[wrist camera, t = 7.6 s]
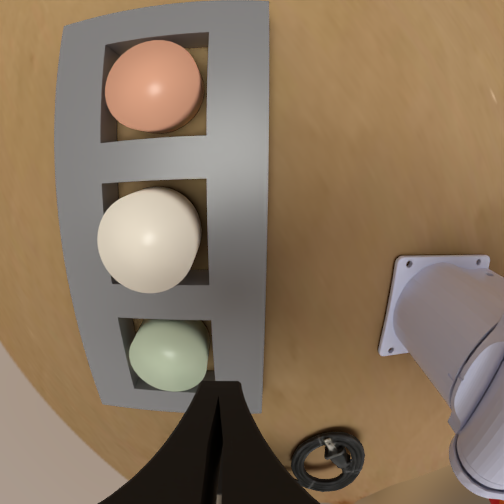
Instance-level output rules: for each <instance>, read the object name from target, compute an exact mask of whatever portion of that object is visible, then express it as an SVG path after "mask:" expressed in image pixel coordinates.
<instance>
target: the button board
mask: <svg viewBox="0 0 504 504" xmlns="http://www.w3.org/2000/svg"><path fill="white" fill-rule="evenodd" d="M152 40H165V41H170V42H173V43H176V44H178V45H180V46H181V47H183V48H196V47H208V76H207V136H181V137H163V138H149V139H137V140H126V141H117V120H116V119H115V117H114V116H113V115H112V114H111V112H110V110H109V108H108V106H107V103H106V98H105V86H106V81H107V77H108V74H109V72H110V70H111V68H112V66H113V65H114V63H115V62H116V61H117V60H118V58H119V57H120V56H121V55H122V54H124V53H125V52H126V51H127V50H129V49H130V48H132V47H134V46H136V45H138V44H140V43H143V42H146V41H152ZM54 151H55V179H56V194H57V206H58V216H59V225H60V233H61V241H62V248H63V254H64V261H65V266H66V272H67V278H68V283H69V288H70V293H71V297H72V302H73V307H74V311H75V315H76V319H77V323H78V327H79V331H80V335H81V339H82V342H83V346H84V349H85V353H86V356H87V359H88V363H89V366H90V369H91V372H92V375H93V378H94V381H95V384H96V387H97V390H98V393H99V396H100V398H101V401H102V404H105V405H112V406H119V407H127V408H135V409H145V410H155V411H168V412H184V413H185V412H186V410H187V409H188V407H189V405H190V403H191V401H192V399H193V397H194V395H195V393H196V391H197V388H198V386H199V384H198V385H196V386H195V387H193V388H191V389H188V390H185V391H178V392H172V391H165V390H161V389H158V388H155V387H153V386H151V385H149V384H148V383H146V382H145V381H144V380H142V379H141V378H140V377H139V376H138V375H137V373H136V372H135V371H134V369H133V367H132V365H131V362H130V358H129V350H130V346H131V344H132V342H133V340H134V338H135V336H136V335H135V329H134V324H133V318H140V319H168V320H211V325H212V341H213V357H214V371H206V374H205V376H204V378H203V380H202V381H239V382H240V383H241V386H242V391H243V394H244V398H245V401H246V403H247V406H248V408H249V411H250V413H251V414H253V413H262V389H263V362H264V333H265V300H266V262H267V216H268V153H269V1H254V0H220V1H199V2H186V3H175V4H166V5H158V6H151V7H145V8H138V9H133V10H127V11H122V12H117V13H112V14H108V15H104V16H99V17H95V18H91V19H88V20H84V21H80V22H77V23H73V24H70V25H67V26H64V29H63V35H62V41H61V48H60V56H59V64H58V74H57V85H56V100H55V127H54ZM205 178H207V227H208V260H209V270H189V272H188V273H187V275H186V276H185V277H184V278H183V280H182V281H181V282H179V283H178V284H177V285H176V286H174V287H173V288H170V289H168V290H166V291H163V292H159V293H141V292H137V291H134V290H131V289H129V288H127V287H125V286H123V285H122V284H120V283H119V282H118V281H116V280H115V279H114V278H113V277H112V276H111V275H110V273H109V272H108V271H107V269H106V268H105V266H104V264H103V262H102V260H101V257H100V254H99V250H98V243H97V236H98V229H99V225H100V222H101V219H102V217H103V215H104V214H105V212H106V211H107V209H108V208H109V207H110V206H111V205H112V204H113V203H114V202H116V201H117V200H119V196H118V182H131V181H149V180H171V179H205Z"/></svg>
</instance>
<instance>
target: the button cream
mask: <svg viewBox="0 0 504 504" xmlns="http://www.w3.org/2000/svg"><path fill="white" fill-rule="evenodd" d="M201 237H202V228H201V222H200V218H199V215H198V213H197V211H196V209H195V207H194V206H193V205H192V203H191V202H190V201H189V200H188V199H187V198H186V197H185V196H184V195H182V194H181V193H179V192H177V191H175V190H173V189H170V188H167V187H158V186H155V187H148V188H144V189H142V190H139V191H137V192H134V193H132V194H129V195H127V196H124V197H122V198H120V199H119V200H117V201H116V202H114V203H113V204H112V205H111V206H110V207H109V208H108V209H107V211H106V212H105V214H104V215H103V217H102V219H101V222H100V225H99V229H98V236H97V243H98V250H99V254H100V257H101V260H102V262H103V264H104V266H105V268H106V269H107V271H108V272H109V273H110V275H111V276H112V277H113V278H114V279H115V280H116V281H118V282H119V283H120V284H122V285H123V286H125V287H127V288H129V289H131V290H134V291H137V292H141V293H159V292H163V291H166V290H168V289H170V288H173V287H174V286H176V285H177V284H178V283H179V282H181V281H182V280H183V278H184V277H185V276H186V275H187V273H188V272H189V270H190V268H191V266H192V263H193V261H194V258H195V256H196V253H197V251H198V249H199V246H200V242H201Z"/></svg>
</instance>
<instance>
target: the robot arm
mask: <svg viewBox="0 0 504 504" xmlns="http://www.w3.org/2000/svg"><path fill="white" fill-rule="evenodd" d="M477 260H478V262H477ZM408 261H410V263H409V265H408V266H406V264H407V262H408ZM476 262H477V263H476ZM489 264H490V257H489V256H487V255H422V256H399V257H398V258H397V259H396V261H395V266H394V273H393V279H392V285H391V291H390V296H389V301H388V307H387V312H386V317H385V321H384V326H383V331H382V335H381V339H380V344H379V348H378V352H379V354H380V355H381V356H389V355H396V354H403V353H410V354H411V356H412V357H413V358H414V360H415V361H416V362H417V364H418V365H419V366H420V368H421V369H422V370H423V371H424V373H425V374H426V375H427V377H428V378H429V379H430V381H431V382H432V383H433V385H434V386H435V388H436V389H437V390H438V392H439V393H440V394H441V396H442V397H443V398H444V400H445V401H446V403H447V404H448V405H449V407H450V408H451V410H452V413H451V416H450V418H449V419H448V423H449V425H450V426H451V428H452V429H453V431H454V432H455V436H454V437H453V439H452V441H451V444H450V447H449V460H450V464H451V467H452V469H453V472H454V473H455V475H456V477H457V478H458V480H459V481H460V482H461V483H462V484H463V485H464V486H465V487H466V488H467V489H468V490H470V491H471V492H473V493H475V494H477V495H479V496H482V497H485V498H490V499H500V500H504V277H502V276H500V275H498V274H497V273H495V272H493V271H492V270H490V269H488V268H489ZM390 348H391V350H389V349H390ZM388 350H389V351H388ZM222 447H223V476H222V500H221V504H320V503H319V502H318V501H317V500H315V499H314V498H313V497H312V496H311V495H310V494H309V493H308V492H307V491H306V490H305V489H304V488H303V487H302V486H301V485H300V484H299V483H298V482H297V481H296V480H295V479H294V478H293V477H292V476H291V475H290V473H289V472H288V471H287V470H286V469H285V467H284V466H283V465H282V464H281V462H280V461H279V460H278V459H277V457H276V456H275V454H274V453H273V452H272V450H271V449H270V447H269V446H268V444H267V443H266V441H265V439H264V438H263V436H262V434H261V433H260V431H259V429H258V427H257V425H256V423H255V421H254V419H253V417H252V415H251V413H250V411H249V408H248V406H247V403H246V401H245V398H244V394H243V391H242V386H241V383H240V382H239V381H201V382H200V383H199V386H198V388H197V391H196V393H195V395H194V397H193V399H192V401H191V403H190V405H189V407H188V409H187V410H186V412H185V414H184V415H183V417H182V419H181V420H180V422H179V424H178V425H177V427H176V428H175V429H174V431H173V432H172V434H171V435H170V437H169V438H168V439H167V441H166V442H165V443H164V445H163V446H162V447H161V448H160V450H159V451H158V452H157V453H156V454H155V455H154V457H153V458H152V459H151V460H150V461H149V462H148V463H147V464H146V465H145V466H144V467H143V468H142V469H141V470H140V471H139V472H138V473H137V474H136V475H135V476H134V477H133V478H132V479H130V480H129V481H128V482H127V483H126V484H124V485H123V486H122V487H121V488H119V489H118V490H117V491H115V492H114V493H113V494H112V495H110V496H109V497H107V498H106V499H105V500H103V501H101V502H100V503H98V504H216V502H217V490H218V481H219V473H220V464H221V456H222Z"/></svg>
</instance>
